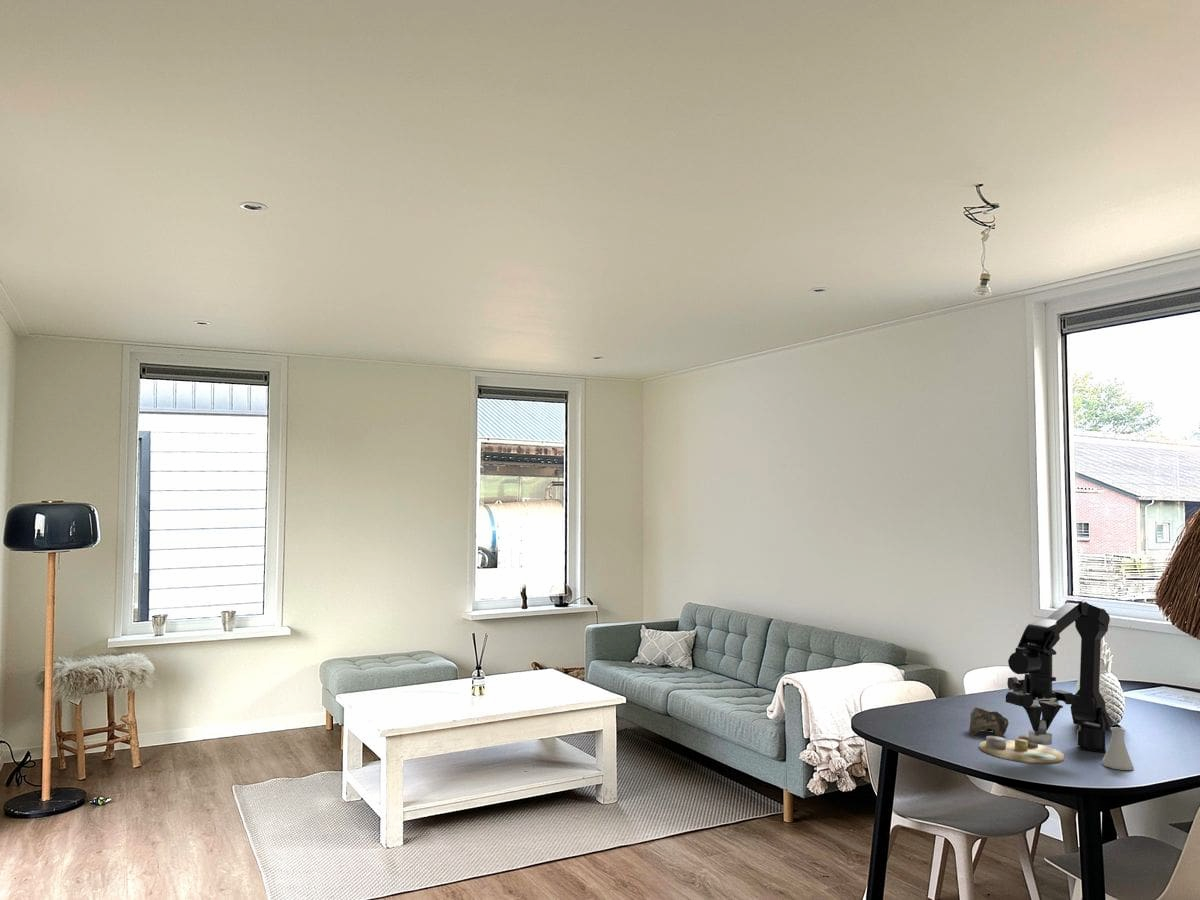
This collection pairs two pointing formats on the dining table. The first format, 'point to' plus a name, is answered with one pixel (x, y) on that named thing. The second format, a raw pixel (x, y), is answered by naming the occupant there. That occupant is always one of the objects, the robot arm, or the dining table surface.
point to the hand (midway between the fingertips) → (1040, 730)
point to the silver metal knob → (1040, 734)
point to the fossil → (987, 722)
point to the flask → (1117, 752)
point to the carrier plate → (1020, 750)
